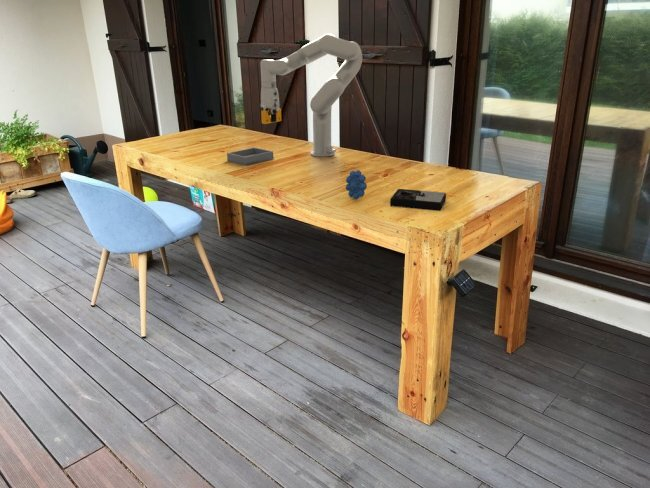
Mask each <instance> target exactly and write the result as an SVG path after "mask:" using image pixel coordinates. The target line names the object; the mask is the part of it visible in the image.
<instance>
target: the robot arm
mask: <svg viewBox="0 0 650 488" xmlns="http://www.w3.org/2000/svg"><path fill="white" fill-rule="evenodd" d="M326 55H330V56H333V57H336V58H338V59H341V60H342V59H343V60H344V61H343V63H342V64H341V65H340V67H339V68H338V70H337V71H335V73H334V74H333V75H332V76H331V77H330V78H328V79H327V80H326V81H325V82H324V84H323V85H322V86H321V87H320V88H319V90H318V91H317V92H316V94H314V96H313V97H312V98H311V100H310V104H309V107H310V109H311V111H312V140H313V141H312V143H313V144H312V145H313V150H311V151H310V155H311V156H313V157H318V158H319V157H320V158H321V157H322V158H323V157H331V156H334V155H335V153H336V152H337V149H335V148H334V146H333V145H332V107H333V105H334V104H335V103H336V101H337V100H338V99H339V98H340V97H341V95H342V94H344V91H345V89H346V88H347V87H348V86H349V84H350V83H351V81H352V80H353V79H354V78H355V76H356V75H357V74H358V73H359V71H360V70H361V68H362V67H361V66H362V63H363V52H362V49H361V47H360V45H359V44H358V43H357V42H356V41H349V40H346V39H343V38H339V37H337V36H335V35H334V34H332V33H325V34H323V35H322V36H320V37H318V38H316V39H315V40H312V41H310V42H309V43H307V44H305V45H303V46H302V47H301V48H299V49H298V50H297V51H295V52H293V53H291V54H290V55H287V56H286V57H283V58H281V59H276V60H274V59H268V58H267V59H261V60H260V63H259V64H260V80H261V89H260V104H259V105H260V108H261V111H263V110H264V111H267V112H268V115H269V116H270V115H271V122H274V123H277V122H276V121H277V120H276V114H277V112H278V110H279V109H281V108H280V97H279V96H280V94H279V90H278V88H277V76H278V75H279V76H285V75H288V74H289V73H292V72H293V71H296V70H297V69H299V68H301V67H303V66H305V65H308V64H311V63H313V62H316V60H318V59H321V58H322V57H325V56H326ZM269 111H270V112H271V113H270V112H269Z"/></svg>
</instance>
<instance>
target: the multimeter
mask: <svg viewBox="0 0 650 488" xmlns="http://www.w3.org/2000/svg"><path fill="white" fill-rule="evenodd" d="M446 200H447V194H446V192H440V191H431V190H419V189H418V190H417V189H408V188H407V189H406V188H398V189H396V191H395V192H394V193H393V195H392V196H391V197H390V199H389V201H390V202H389V205H390V207H395V208H396V207H397V208H406V209H416V210H427V211H434V212H435V211H436V212H441V211H442V209H443V207H444V205H445V203H446Z"/></svg>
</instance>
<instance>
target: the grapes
mask: <svg viewBox="0 0 650 488" xmlns="http://www.w3.org/2000/svg"><path fill="white" fill-rule="evenodd" d="M366 178H367V177H366V176H365V174H362V171H360V170H359V169H358V170H351V171H350V172H349V175H348V176H347V177H346V179H345V182H346V183H347V184H346V185H345V190H346V191H347V192H348V197H350V198H353V199H354V200H358V199H360V198H362V197H363V196H365V190H366V189H367V186H368V185H367V182H366Z"/></svg>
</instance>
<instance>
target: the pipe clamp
mask: <svg viewBox="0 0 650 488" xmlns="http://www.w3.org/2000/svg"><path fill="white" fill-rule="evenodd" d="M260 114H261V124H263V125H268V124H274V123H277V122H281V121H282V108H280V109H279V110H278V112H277V114H276V120H277V121H276V122H271V114H270V116H269V115H268V112H267V111H264V110H260Z"/></svg>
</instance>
